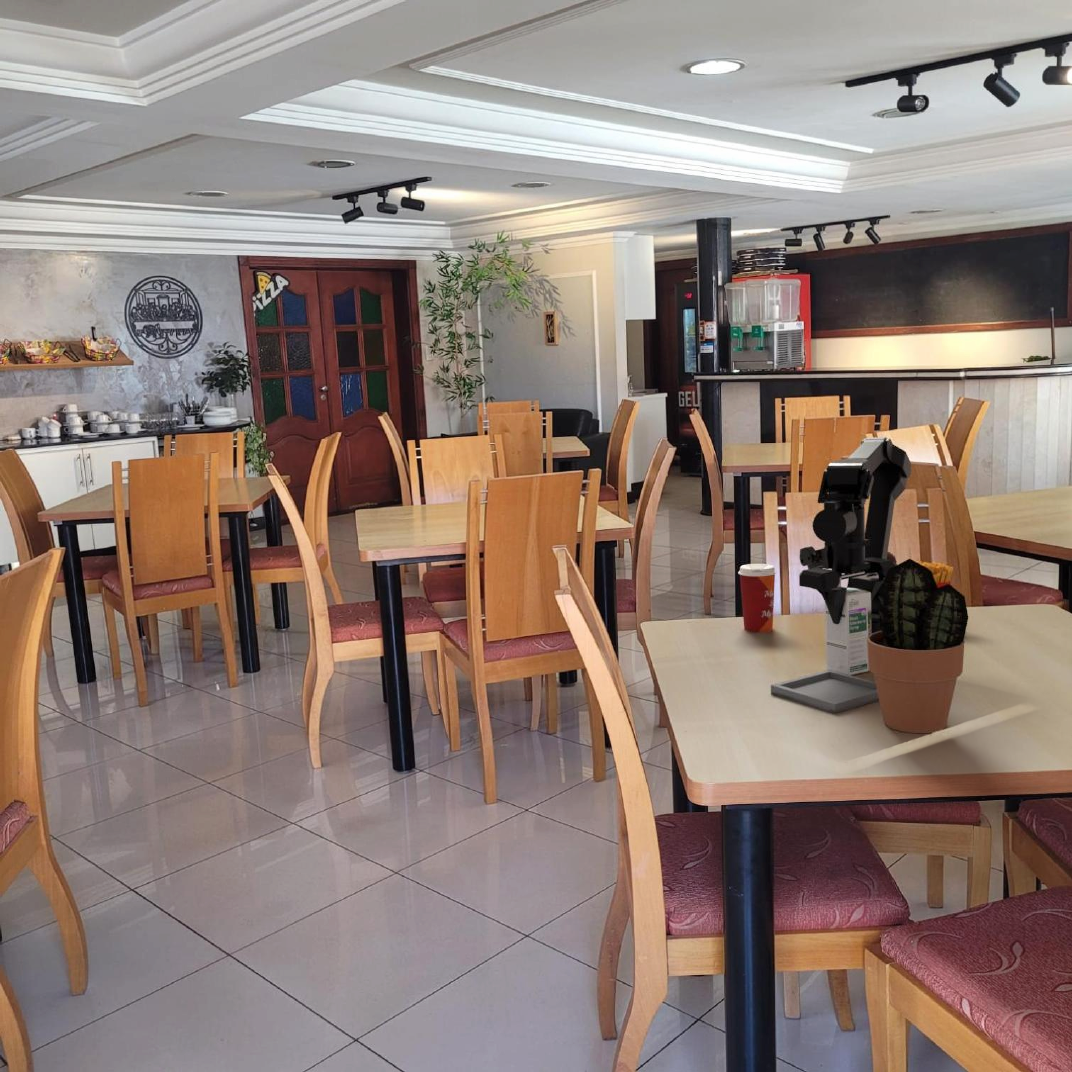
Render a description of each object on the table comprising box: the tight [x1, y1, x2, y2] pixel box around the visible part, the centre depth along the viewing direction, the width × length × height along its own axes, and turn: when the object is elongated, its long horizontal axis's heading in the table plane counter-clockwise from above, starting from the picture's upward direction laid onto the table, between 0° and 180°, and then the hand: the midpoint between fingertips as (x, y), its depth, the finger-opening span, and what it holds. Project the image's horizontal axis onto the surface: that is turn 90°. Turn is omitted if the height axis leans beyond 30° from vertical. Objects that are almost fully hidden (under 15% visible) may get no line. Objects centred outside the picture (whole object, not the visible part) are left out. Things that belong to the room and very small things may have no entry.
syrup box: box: [824, 587, 872, 676], centre depth 187 cm, size 6×6×14 cm
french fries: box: [914, 560, 954, 588], centre depth 217 cm, size 9×4×13 cm, turn 55°
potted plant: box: [867, 558, 969, 734], centre depth 157 cm, size 14×14×25 cm
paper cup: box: [737, 563, 777, 633], centre depth 218 cm, size 8×8×14 cm
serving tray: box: [770, 669, 880, 714], centre depth 175 cm, size 14×14×2 cm
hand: (848, 621), depth 187 cm, fingers closed on syrup box, 6 cm apart
